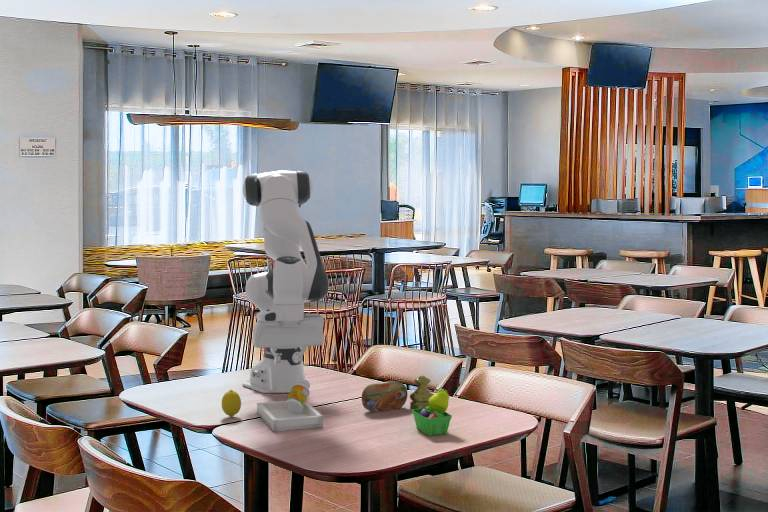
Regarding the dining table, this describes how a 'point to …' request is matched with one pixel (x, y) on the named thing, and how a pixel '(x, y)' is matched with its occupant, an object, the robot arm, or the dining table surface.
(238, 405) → the lemon
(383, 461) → the dining table surface
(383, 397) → the tin
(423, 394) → the olive brown figurine
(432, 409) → the fruit basket
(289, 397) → the supplement bottle
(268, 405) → the tray
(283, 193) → the robot arm
